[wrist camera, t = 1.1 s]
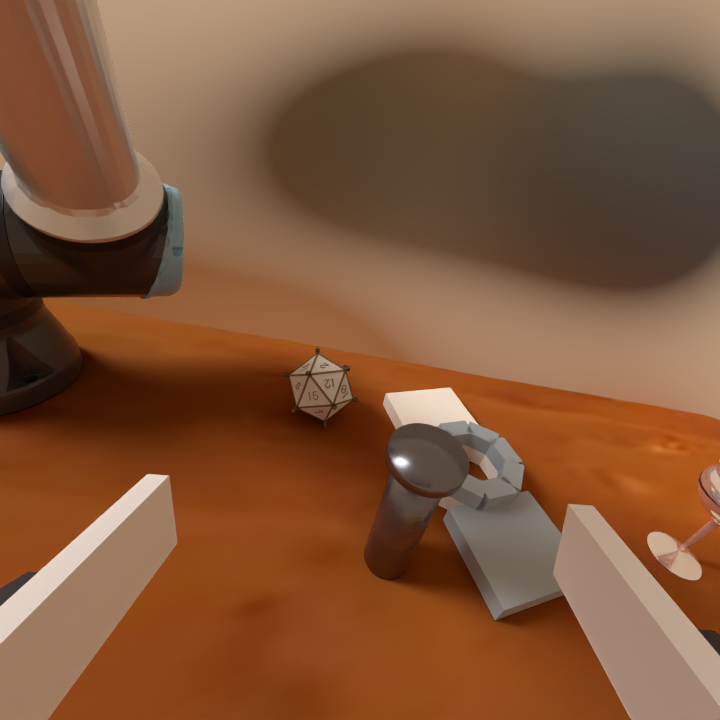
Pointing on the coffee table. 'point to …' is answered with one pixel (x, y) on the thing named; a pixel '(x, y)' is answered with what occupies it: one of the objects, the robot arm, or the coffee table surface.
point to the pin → (412, 493)
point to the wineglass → (716, 494)
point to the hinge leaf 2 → (502, 529)
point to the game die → (320, 387)
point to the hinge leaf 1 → (435, 421)
